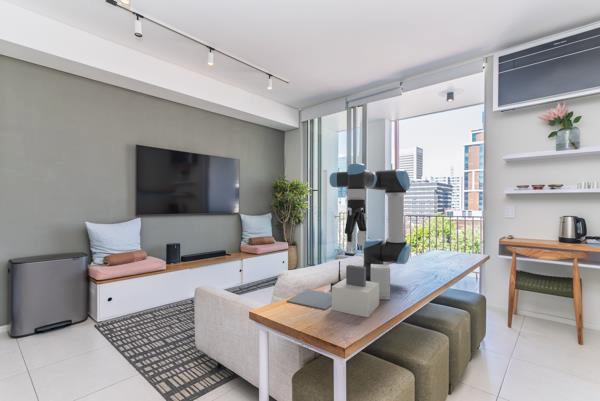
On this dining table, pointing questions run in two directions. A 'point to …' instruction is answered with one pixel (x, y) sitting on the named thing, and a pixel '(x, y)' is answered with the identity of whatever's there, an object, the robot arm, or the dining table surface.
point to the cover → (355, 293)
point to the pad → (313, 299)
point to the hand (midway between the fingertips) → (355, 247)
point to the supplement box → (381, 279)
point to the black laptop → (338, 278)
